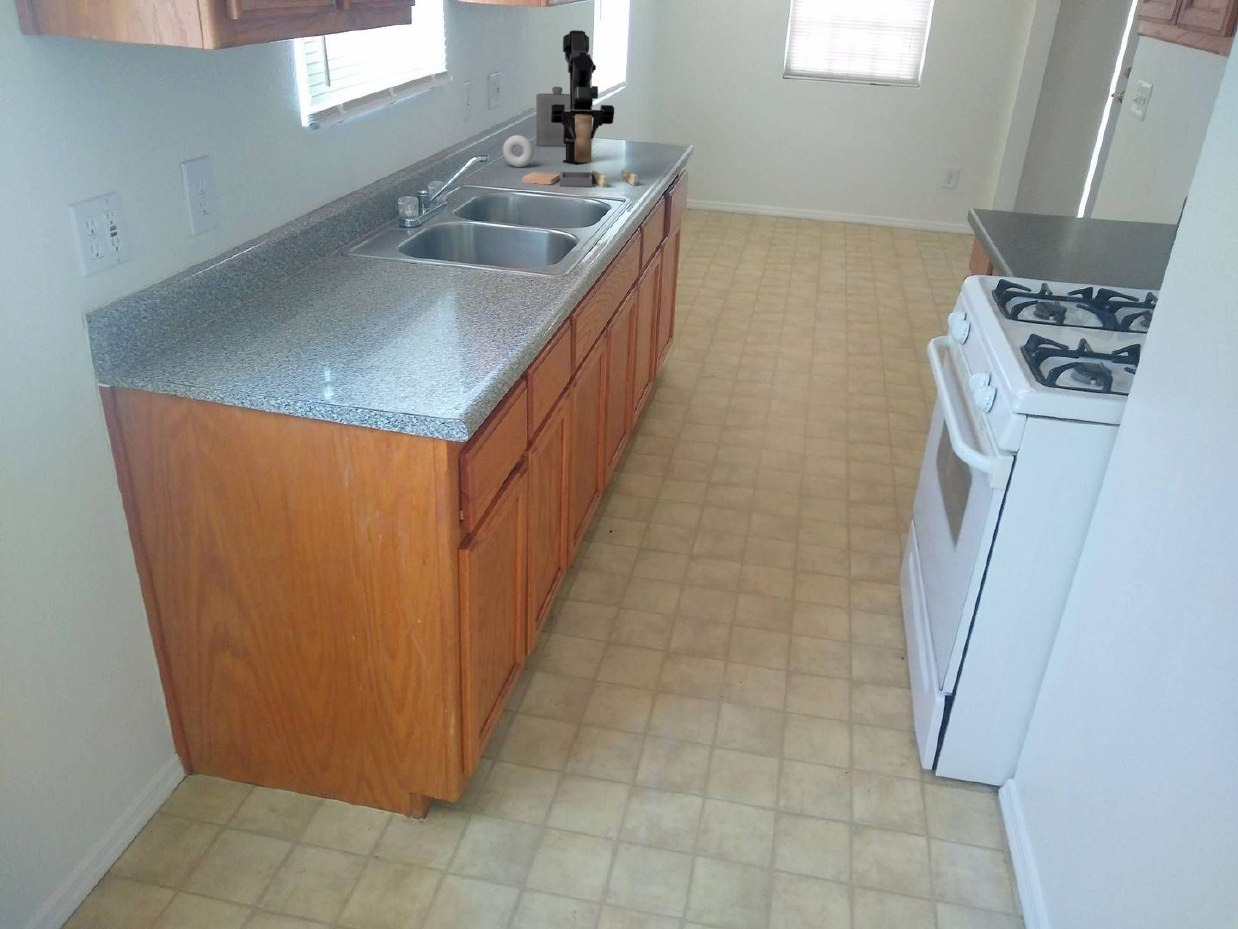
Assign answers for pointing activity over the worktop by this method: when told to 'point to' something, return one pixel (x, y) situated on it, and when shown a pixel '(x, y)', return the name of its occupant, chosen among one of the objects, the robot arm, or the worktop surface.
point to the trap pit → (576, 179)
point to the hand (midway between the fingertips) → (583, 137)
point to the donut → (524, 144)
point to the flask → (547, 130)
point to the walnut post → (583, 137)
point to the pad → (540, 178)
